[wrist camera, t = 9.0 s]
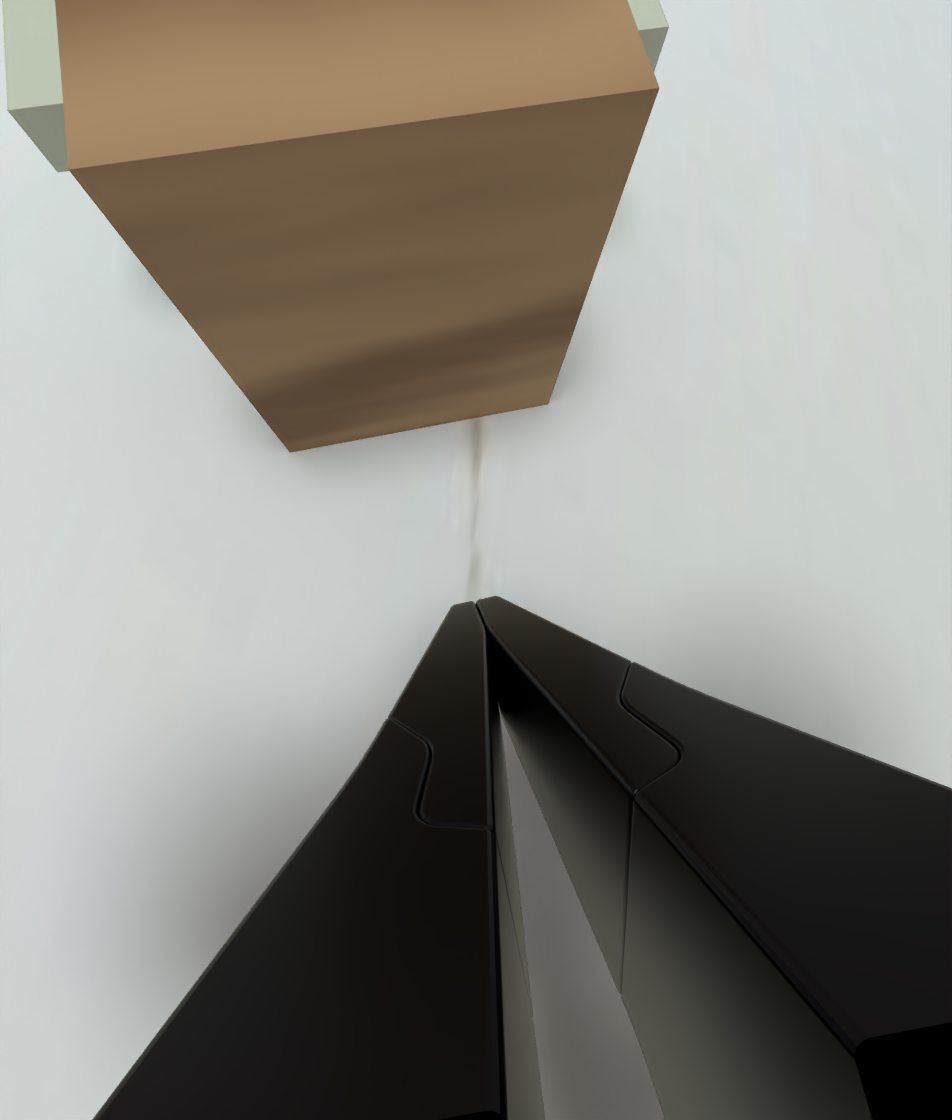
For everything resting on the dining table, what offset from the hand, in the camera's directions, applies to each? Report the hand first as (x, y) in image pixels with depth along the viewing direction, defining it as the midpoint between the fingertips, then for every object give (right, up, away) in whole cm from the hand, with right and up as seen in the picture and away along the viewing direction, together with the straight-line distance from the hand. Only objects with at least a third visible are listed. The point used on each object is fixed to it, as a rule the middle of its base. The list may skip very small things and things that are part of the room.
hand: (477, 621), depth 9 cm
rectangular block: (-3, +12, +10) cm, 16 cm away
